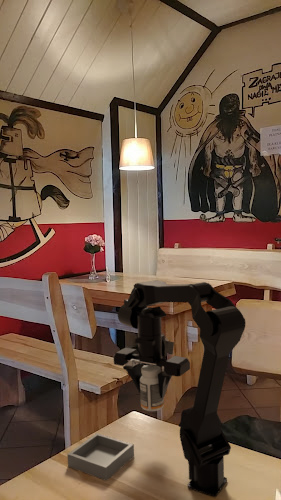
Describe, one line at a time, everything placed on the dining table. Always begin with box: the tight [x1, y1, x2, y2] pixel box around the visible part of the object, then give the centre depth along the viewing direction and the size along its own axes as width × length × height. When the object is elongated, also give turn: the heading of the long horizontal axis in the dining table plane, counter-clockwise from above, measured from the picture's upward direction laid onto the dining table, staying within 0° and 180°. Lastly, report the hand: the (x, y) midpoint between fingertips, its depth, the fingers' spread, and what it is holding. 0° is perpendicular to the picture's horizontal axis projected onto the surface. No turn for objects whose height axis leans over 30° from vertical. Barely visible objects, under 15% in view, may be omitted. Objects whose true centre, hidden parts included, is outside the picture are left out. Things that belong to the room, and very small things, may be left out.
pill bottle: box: [139, 364, 165, 412], centre depth 110 cm, size 6×6×10 cm
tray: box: [67, 432, 135, 482], centre depth 105 cm, size 11×11×3 cm
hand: (151, 395), depth 110 cm, fingers closed on pill bottle, 6 cm apart
